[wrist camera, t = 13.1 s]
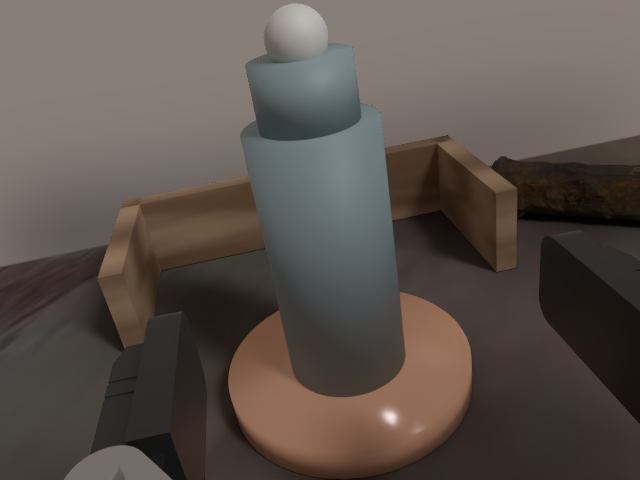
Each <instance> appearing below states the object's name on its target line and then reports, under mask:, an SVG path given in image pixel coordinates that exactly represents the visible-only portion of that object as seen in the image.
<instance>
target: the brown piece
mask: <svg viewBox="0 0 640 480" xmlns="http://www.w3.org/2000/svg"><path fill="white" fill-rule="evenodd" d="M492 169H493V170H494V171H495V172H496V173H498V174H499V175H500V176H502V177H503V178H504V179H506V180H507V181H508V182H510V183H511V184H512V185H513V186H515V187H516V188H517V218H520V217H522V215H524V214H526V213H531V214H549V215H569V216H585V217H599V218H604V219H605V218H607V219H628V220H637V221H640V165H637V166H628V165H586V164H581V163H576V162H571V163H549V162H519V161H515V160H511V159H508V158H507V157H504V156H501V157H500V158H499V159H498V160H497V161H495V162H494V163H493V165H492Z"/></svg>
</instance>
